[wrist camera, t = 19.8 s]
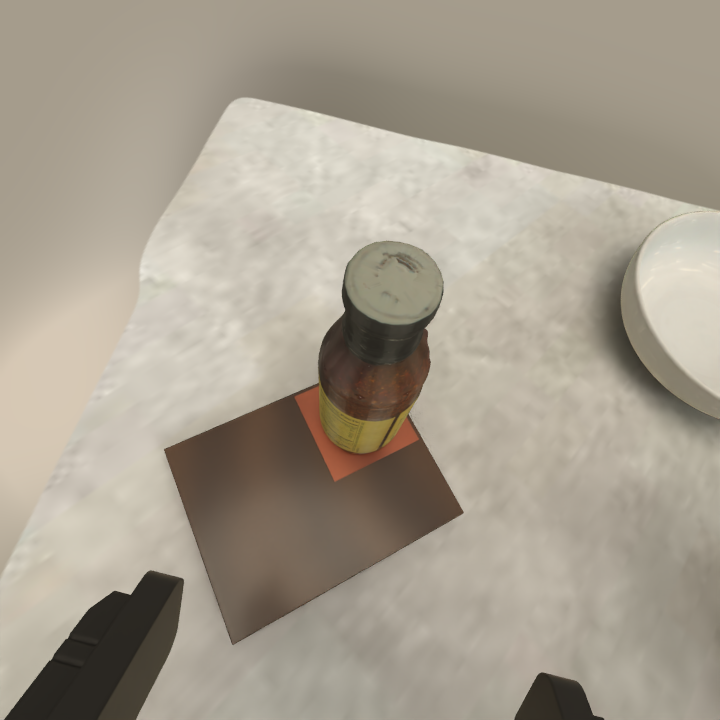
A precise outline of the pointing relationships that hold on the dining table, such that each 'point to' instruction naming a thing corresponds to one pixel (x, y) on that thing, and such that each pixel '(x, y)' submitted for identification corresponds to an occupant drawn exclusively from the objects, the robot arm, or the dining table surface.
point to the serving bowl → (678, 307)
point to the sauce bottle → (378, 345)
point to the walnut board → (299, 507)
